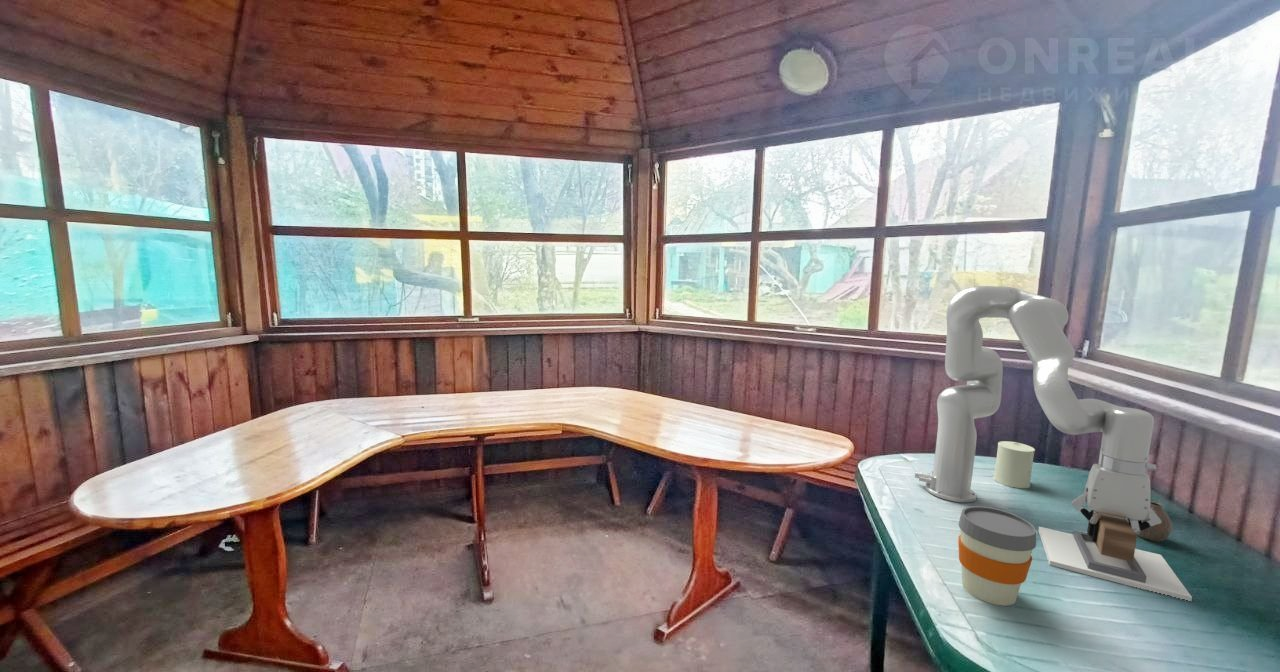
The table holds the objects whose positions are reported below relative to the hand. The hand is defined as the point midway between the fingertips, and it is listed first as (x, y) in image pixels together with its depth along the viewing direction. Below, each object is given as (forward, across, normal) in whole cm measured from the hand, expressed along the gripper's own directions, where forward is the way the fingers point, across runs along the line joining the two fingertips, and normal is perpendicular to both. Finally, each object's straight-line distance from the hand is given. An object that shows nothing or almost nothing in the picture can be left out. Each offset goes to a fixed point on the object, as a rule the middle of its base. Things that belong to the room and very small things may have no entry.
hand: (1109, 542), depth 112 cm
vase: (+5, -12, -21) cm, 25 cm away
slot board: (+5, 0, 0) cm, 5 cm away
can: (+5, +14, -42) cm, 45 cm away
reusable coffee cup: (+5, +23, +28) cm, 37 cm away
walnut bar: (+1, 0, 0) cm, 1 cm away
